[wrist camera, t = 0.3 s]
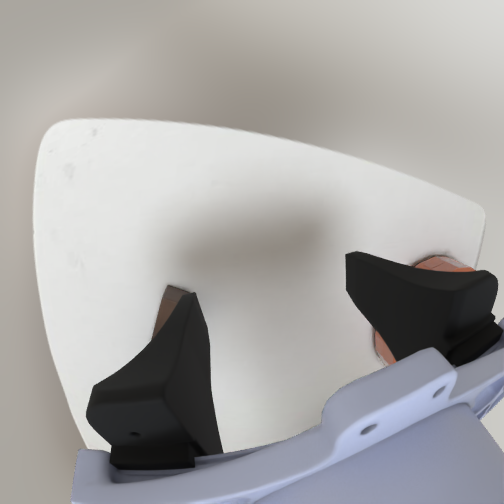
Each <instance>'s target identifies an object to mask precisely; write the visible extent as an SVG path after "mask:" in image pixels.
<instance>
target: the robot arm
mask: <svg viewBox="0 0 504 504" xmlns="http://www.w3.org/2000/svg"><path fill="white" fill-rule="evenodd" d="M345 257H346V291H347V292H348V294H349V296H350V297H351V299H352V301H353V302H354V304H355V305H356V307H357V308H358V309H359V310H360V311H361V313H362V314H363V315H364V316H365V318H366V319H367V320H368V321H369V322H370V324H371V325H372V326H373V327H374V328H375V330H376V331H377V332H378V333H379V334H380V336H381V337H382V339H383V340H384V342H385V343H386V345H387V346H388V348H389V350H390V351H391V353H392V355H393V357H394V358H395V360H396V363H394V364H391V365H389V366H387V367H385V368H383V369H380V370H378V371H376V372H373V373H371V374H369V375H366V376H364V377H361V378H359V379H357V380H354V381H353V382H351V383H349V384H347V385H345V386H343V387H342V388H340V389H339V390H338V391H336V392H335V393H334V394H333V395H332V396H331V397H330V398H329V399H328V400H327V402H326V404H325V406H324V408H323V411H322V422H321V424H319V425H317V426H315V427H313V428H311V429H309V430H307V431H305V432H303V433H300V434H298V435H296V436H294V437H292V438H289V439H287V440H284V441H280V442H276V443H272V444H268V445H264V446H259V447H255V448H250V449H245V450H240V451H235V452H229V453H223V449H222V445H221V440H220V435H219V431H218V426H217V421H216V415H215V410H214V404H213V398H212V391H211V368H210V342H209V335H208V328H207V325H206V322H205V319H204V316H203V313H202V310H201V307H200V305H199V302H198V299H197V296H196V293H195V292H193V293H189V294H185V295H182V297H181V298H180V300H179V301H178V303H177V305H176V306H175V308H174V310H173V311H172V313H171V314H170V316H169V318H168V319H167V321H166V322H165V323H164V325H163V326H162V328H161V329H160V330H159V332H158V333H157V334H156V336H155V337H154V338H153V339H152V340H151V342H150V343H149V344H148V345H147V346H146V347H145V348H144V349H143V350H142V351H141V352H140V353H139V354H138V355H137V356H136V357H134V358H133V359H132V360H131V361H130V362H129V363H127V364H126V365H125V366H124V367H122V368H121V369H120V370H118V371H117V372H115V373H114V374H112V375H111V376H109V377H108V378H106V379H104V380H103V381H101V382H99V383H98V384H96V385H94V386H93V389H92V393H91V396H90V400H89V403H88V407H87V411H86V418H87V420H88V423H89V424H90V425H91V426H92V427H93V429H94V430H95V431H96V432H97V433H98V434H99V435H101V436H102V437H103V438H104V439H105V440H106V441H107V442H108V443H109V444H110V445H111V446H112V447H111V453H109V452H107V451H103V450H92V449H79V450H78V455H77V461H76V466H75V472H74V479H73V486H72V494H71V503H72V504H504V453H503V451H502V450H501V448H500V447H499V446H498V444H497V443H496V442H495V440H494V439H493V437H492V436H491V435H490V433H489V432H488V431H487V429H486V428H485V427H484V426H483V424H482V423H481V422H480V420H481V419H482V418H483V417H484V416H485V415H486V414H487V413H488V412H489V411H490V410H491V409H492V408H493V407H494V406H495V405H496V404H497V403H498V402H499V401H500V400H501V399H502V398H503V397H504V318H503V319H502V320H501V321H500V322H499V324H498V325H497V324H496V323H495V322H494V320H495V316H494V315H493V314H492V313H491V311H492V308H493V305H494V302H495V299H496V295H497V291H498V280H497V278H496V277H495V276H494V275H493V274H491V273H489V272H488V271H486V270H480V271H469V272H446V271H435V270H427V269H422V268H416V267H411V266H407V265H403V264H400V263H396V262H393V261H389V260H386V259H383V258H380V257H377V256H373V255H370V254H367V253H363V252H358V251H355V252H351V253H348V254H345Z"/></svg>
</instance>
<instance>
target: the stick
mask: <svg viewBox="0 0 504 504" xmlns="http://www.w3.org/2000/svg"><path fill="white" fill-rule="evenodd" d="M185 294H189V292H186V291H183V290H180V289H177V288H174V287H171V286H167V288H166V290H165V292H164V295H163V297H162V301H161V304H160V308H159V312H158V316H157V320H156V324H155V328H154V332H153V336H152V339H153V338H154V337H155V336H156V334H157V333H158V332H159V330H160V329H161V328H162V326H163V325H164V323H165V322H166V321H167V319H168V318H169V316H170V314H171V313H172V311H173V310H174V308H175V306H176V305H177V303H178V301H179V300H180V298H181V297H182V295H185Z"/></svg>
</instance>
